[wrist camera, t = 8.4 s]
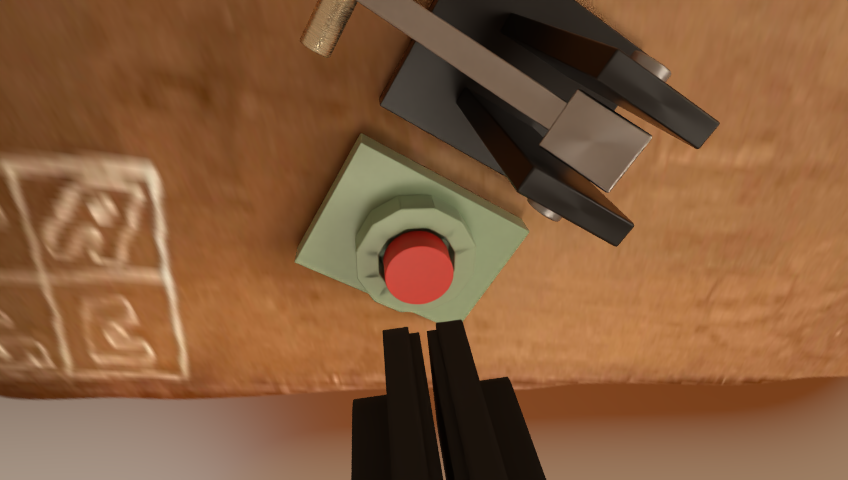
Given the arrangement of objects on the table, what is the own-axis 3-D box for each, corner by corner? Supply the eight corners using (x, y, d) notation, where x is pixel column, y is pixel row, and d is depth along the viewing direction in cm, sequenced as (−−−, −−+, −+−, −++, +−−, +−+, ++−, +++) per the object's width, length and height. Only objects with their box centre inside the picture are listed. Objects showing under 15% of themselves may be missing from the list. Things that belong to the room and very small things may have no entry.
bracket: (378, 99, 27) (393, 197, 16) (472, -71, 24) (573, -98, 13) (541, 192, 31) (646, 324, 20) (641, 54, 28) (835, 119, 16)
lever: (317, 44, 22) (284, 35, 20) (387, -100, 20) (358, -128, 18) (577, 227, 20) (572, 240, 18) (686, 88, 18) (696, 82, 15)
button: (371, 271, 28) (372, 289, 27) (404, 219, 27) (407, 234, 26) (426, 296, 30) (430, 314, 28) (461, 247, 28) (466, 263, 27)
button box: (297, 247, 31) (290, 279, 28) (360, 132, 28) (361, 153, 25) (451, 315, 34) (460, 349, 31) (521, 218, 32) (539, 246, 29)
